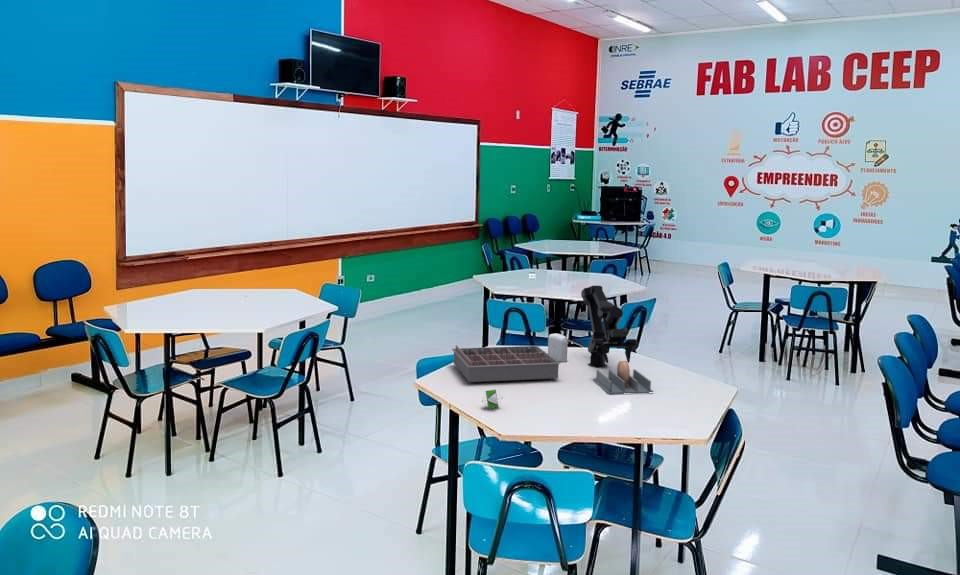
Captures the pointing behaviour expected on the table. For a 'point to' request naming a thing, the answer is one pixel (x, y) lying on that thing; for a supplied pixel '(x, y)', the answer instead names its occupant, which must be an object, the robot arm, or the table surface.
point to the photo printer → (558, 347)
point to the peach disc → (623, 371)
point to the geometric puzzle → (492, 398)
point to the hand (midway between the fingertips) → (618, 362)
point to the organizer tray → (505, 363)
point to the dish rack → (623, 383)
